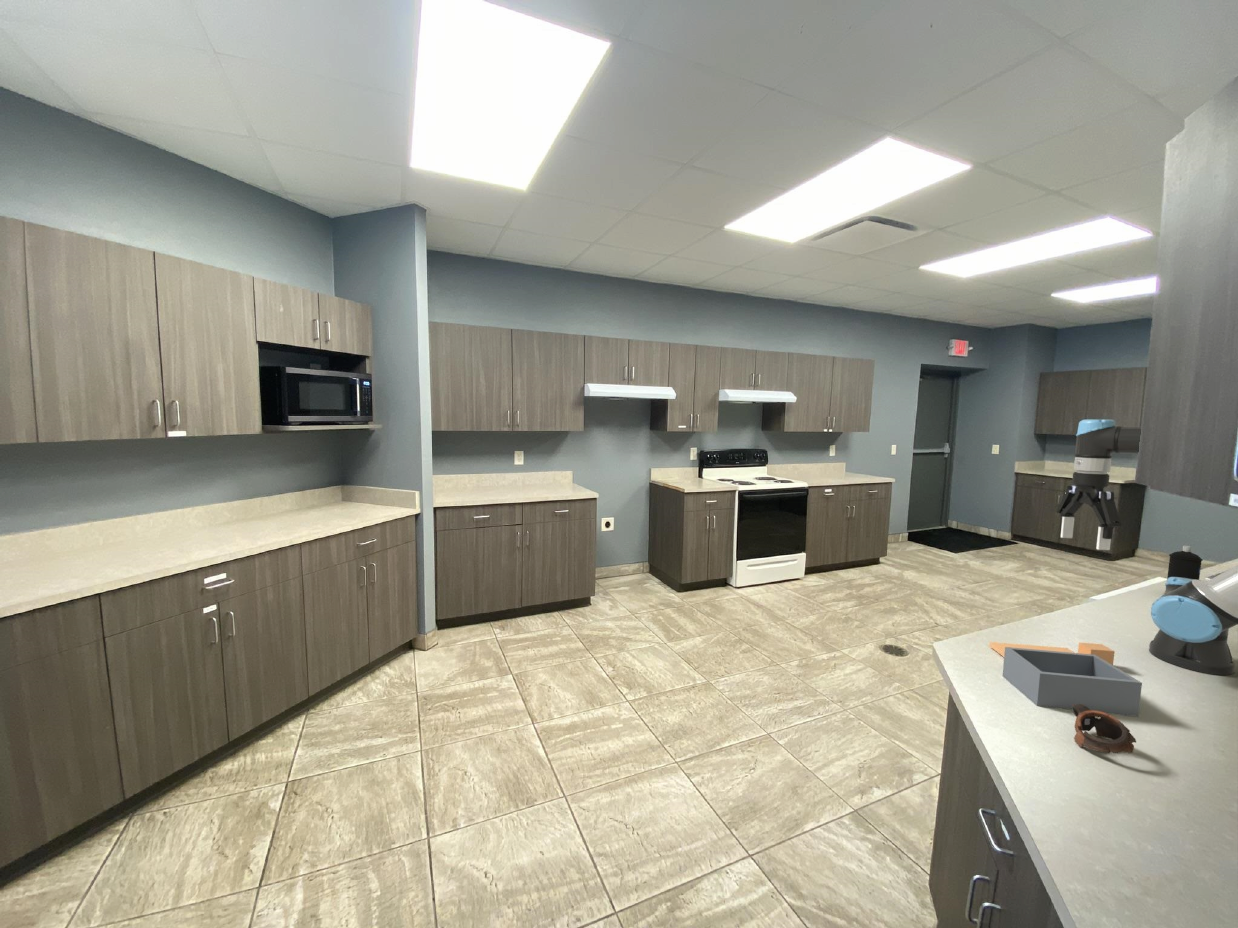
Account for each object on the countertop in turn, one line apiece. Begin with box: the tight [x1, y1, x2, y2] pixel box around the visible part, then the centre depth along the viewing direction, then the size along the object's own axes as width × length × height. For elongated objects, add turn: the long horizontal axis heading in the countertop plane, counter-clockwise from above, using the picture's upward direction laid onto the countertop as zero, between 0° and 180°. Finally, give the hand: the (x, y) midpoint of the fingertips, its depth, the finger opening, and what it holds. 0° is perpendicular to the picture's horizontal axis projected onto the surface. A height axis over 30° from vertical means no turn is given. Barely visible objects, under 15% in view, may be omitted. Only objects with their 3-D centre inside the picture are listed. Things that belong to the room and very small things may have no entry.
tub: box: [1002, 647, 1143, 717], centre depth 113 cm, size 20×13×8 cm, turn 79°
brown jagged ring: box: [1072, 703, 1137, 754], centre depth 96 cm, size 12×10×8 cm
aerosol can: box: [1163, 545, 1203, 595], centre depth 178 cm, size 8×8×20 cm
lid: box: [988, 641, 1115, 666], centre depth 129 cm, size 25×13×6 cm, turn 81°
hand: (1083, 543), depth 138 cm, fingers open, 13 cm apart
